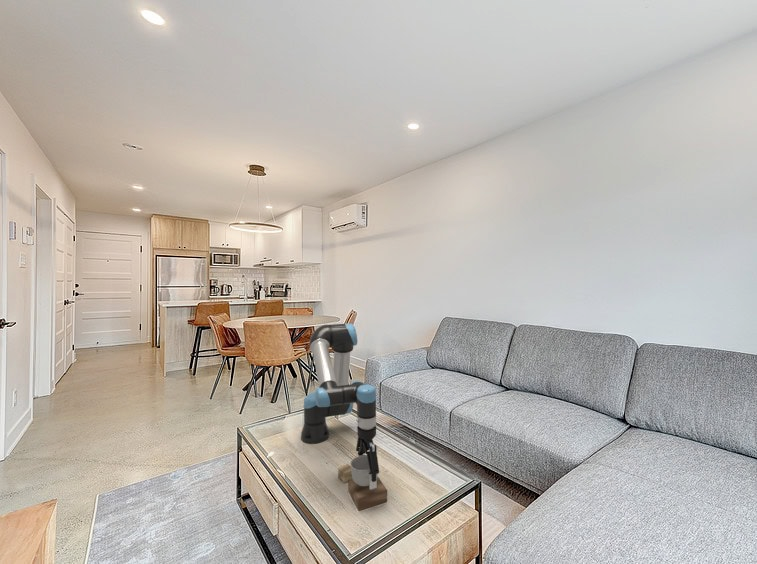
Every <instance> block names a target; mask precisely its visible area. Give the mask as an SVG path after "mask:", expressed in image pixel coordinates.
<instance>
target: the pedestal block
mask: <svg viewBox="0 0 757 564" xmlns="http://www.w3.org/2000/svg"><path fill="white" fill-rule="evenodd" d="M347 487H348V488H347V490H348V492H349V494H350V496H351V498H352V500H353V502H354V504H355V506H356V508H357V510H358V512H359V511H362V510H365V509H368V508H371V507H374V506H377V505H380V504H383V503H386V502H387V500H388V489H387V488H386V486H385V485H384V483H383V482H382V480H381V479H380V477H379V476H377V488H374V489H371V490H370V489H369V486H360V485H358V484H356V483H355V482H354V481H353V479H350V480H348V483H347ZM371 509H372V508H371ZM368 510H369V509H368ZM365 511H366V510H365ZM362 512H363V511H362ZM359 513H360V512H359Z"/></svg>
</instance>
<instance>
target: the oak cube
mask: <svg viewBox="0 0 757 564" xmlns="http://www.w3.org/2000/svg"><path fill="white" fill-rule="evenodd" d="M337 476H338V479H339V480H340V481H341V482H342V483H344V484H346V483H347V482H348V480H350V479H353V478H352V473H351V465H350V464H349V463H346V464H344V465H342V466H339V467H338V468H337Z"/></svg>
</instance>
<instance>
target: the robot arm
mask: <svg viewBox="0 0 757 564" xmlns="http://www.w3.org/2000/svg"><path fill="white" fill-rule="evenodd" d="M356 330H357V329H356V326H355V325H354V324H353V323H336V324H323V325H321V326H319V327H318V328H316V329H314V331H313V333H312V334H311V336H310V339H309V343H308V344H309V350H310V352H311V353H312V354H313V355H312V356H313V360H314V366H315V371H316V377H317V383H318V388H316V389H315V391H314V392H311V393H309V394H307V395H306V396H305V397H304V398H303V399H304V400H303V427H302V428H301V432H300V440H301V441H302V442H303V443H306V444H310V445H312V444H314V445H315V444H321V443H322V442H325V441H326V440H328V439H329V437H330V430H329V427H328V423H327V421H326V419H327V418H329V417H336V416H344V415H348V414H351V412H352V411H353V409H354V404H356V416H357V418H356V420H355V421H356V422H357V423H356V424H357V426H356V427H357V431H356V433H357V440H356V449H355V450H356V452H357V456H361V455H367V458H368V463H369V468H370V472H369V489H370V490H371V489H374V488H377V474H378V475H379V473H380V467H379V461H378V452H377V447H378V446H377V445H376V444H375V445H374V440H373V439H374V438H375V437H376V435H377V391H376V387H375V386H374V385H371V384H365V383H364V382H362V381H361V380H354V381H352V382H350V384H349V380H350V379H349V378H350V361H351V360H350V359H351V353H352V352H353V350H354V347H355V346H357V345H358V334H357V331H356ZM330 348H331V351H333V363H332V359H331V354H330V350H329V349H330Z"/></svg>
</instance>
